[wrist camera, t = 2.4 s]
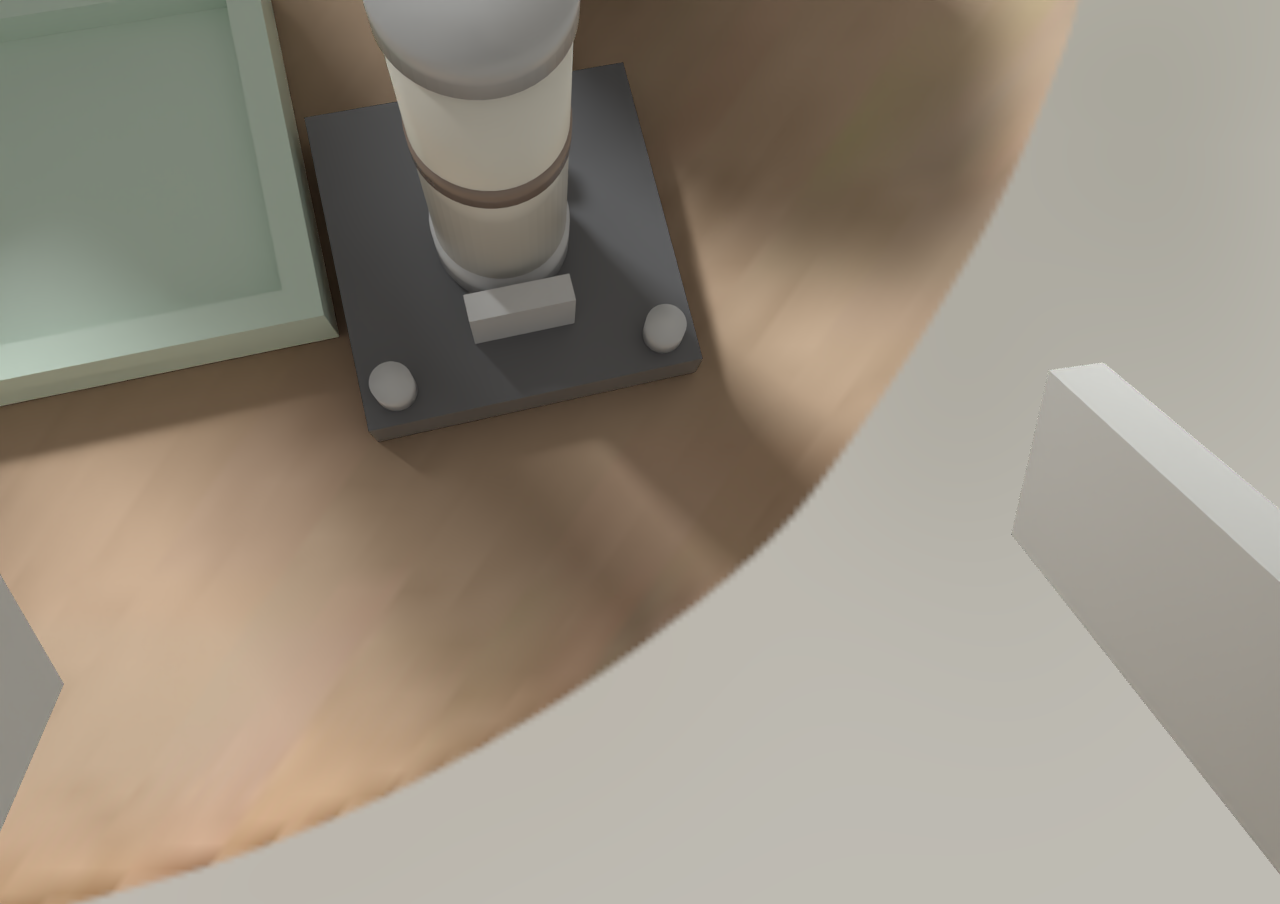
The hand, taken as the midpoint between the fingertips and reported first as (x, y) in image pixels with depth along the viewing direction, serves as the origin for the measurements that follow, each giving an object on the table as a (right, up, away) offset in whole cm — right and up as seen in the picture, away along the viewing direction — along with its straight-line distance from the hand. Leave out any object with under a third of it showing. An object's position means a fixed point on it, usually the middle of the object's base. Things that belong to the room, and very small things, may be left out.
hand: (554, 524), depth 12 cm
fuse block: (-3, +7, +18) cm, 20 cm away
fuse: (-3, +7, +16) cm, 18 cm away
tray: (-15, +9, +17) cm, 25 cm away
